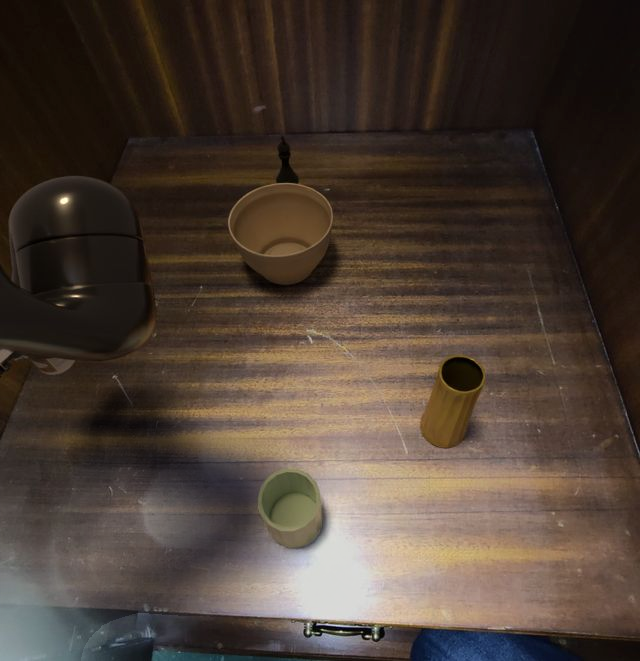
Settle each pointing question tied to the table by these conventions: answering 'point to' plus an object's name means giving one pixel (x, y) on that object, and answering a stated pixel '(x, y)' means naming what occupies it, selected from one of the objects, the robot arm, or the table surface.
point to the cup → (291, 507)
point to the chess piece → (285, 165)
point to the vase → (452, 400)
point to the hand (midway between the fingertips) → (30, 333)
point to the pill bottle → (52, 365)
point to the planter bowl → (282, 230)
